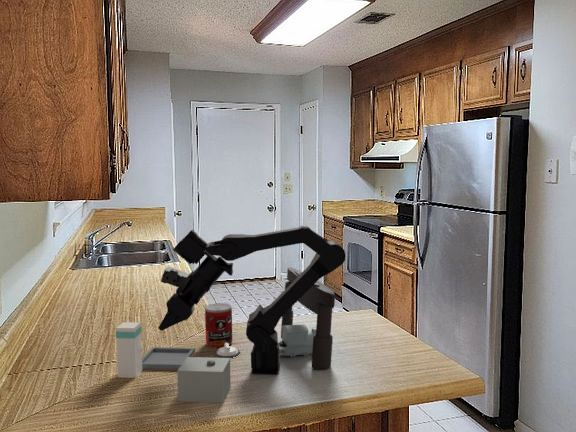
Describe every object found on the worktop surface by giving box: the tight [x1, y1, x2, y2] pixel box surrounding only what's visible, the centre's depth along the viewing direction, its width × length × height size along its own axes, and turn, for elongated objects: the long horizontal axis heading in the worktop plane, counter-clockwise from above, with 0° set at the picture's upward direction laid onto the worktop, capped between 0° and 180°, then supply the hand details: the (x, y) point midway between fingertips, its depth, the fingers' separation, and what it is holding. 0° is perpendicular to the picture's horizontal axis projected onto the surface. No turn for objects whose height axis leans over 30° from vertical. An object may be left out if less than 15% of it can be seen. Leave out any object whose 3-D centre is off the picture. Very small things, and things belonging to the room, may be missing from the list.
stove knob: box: [213, 343, 241, 359], centre depth 141 cm, size 7×7×3 cm
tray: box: [142, 346, 196, 371], centre depth 136 cm, size 12×12×2 cm
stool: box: [278, 266, 336, 370], centre depth 140 cm, size 16×21×33 cm
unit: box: [176, 356, 232, 404], centre depth 116 cm, size 10×8×8 cm
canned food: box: [204, 302, 233, 348], centre depth 148 cm, size 8×8×11 cm
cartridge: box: [115, 321, 144, 379], centre depth 127 cm, size 5×5×12 cm
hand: (163, 323), depth 128 cm, fingers open, 9 cm apart
